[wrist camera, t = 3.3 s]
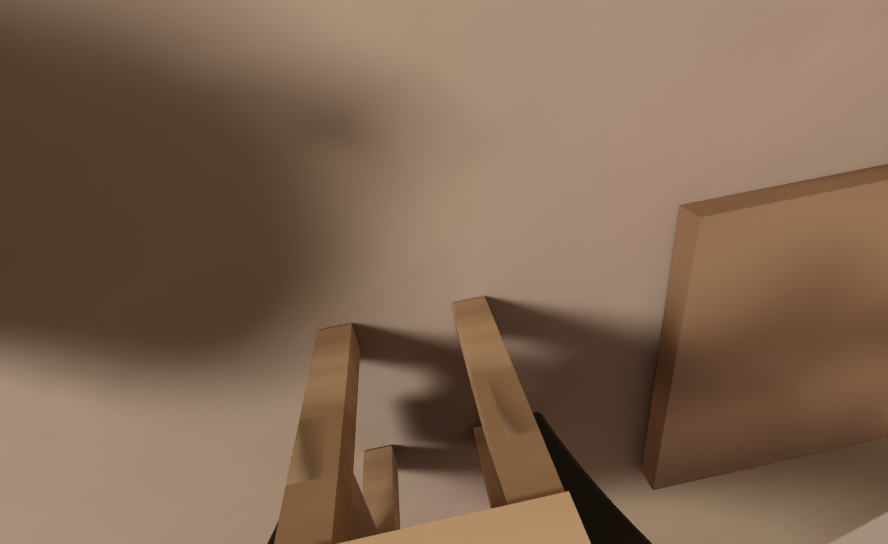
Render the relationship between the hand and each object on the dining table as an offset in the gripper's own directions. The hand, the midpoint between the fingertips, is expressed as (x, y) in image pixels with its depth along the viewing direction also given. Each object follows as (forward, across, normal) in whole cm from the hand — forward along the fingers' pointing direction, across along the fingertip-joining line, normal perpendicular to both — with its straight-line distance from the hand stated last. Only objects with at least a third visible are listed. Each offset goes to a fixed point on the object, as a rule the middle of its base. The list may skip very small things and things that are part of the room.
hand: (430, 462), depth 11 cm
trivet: (+2, -13, +1) cm, 13 cm away
